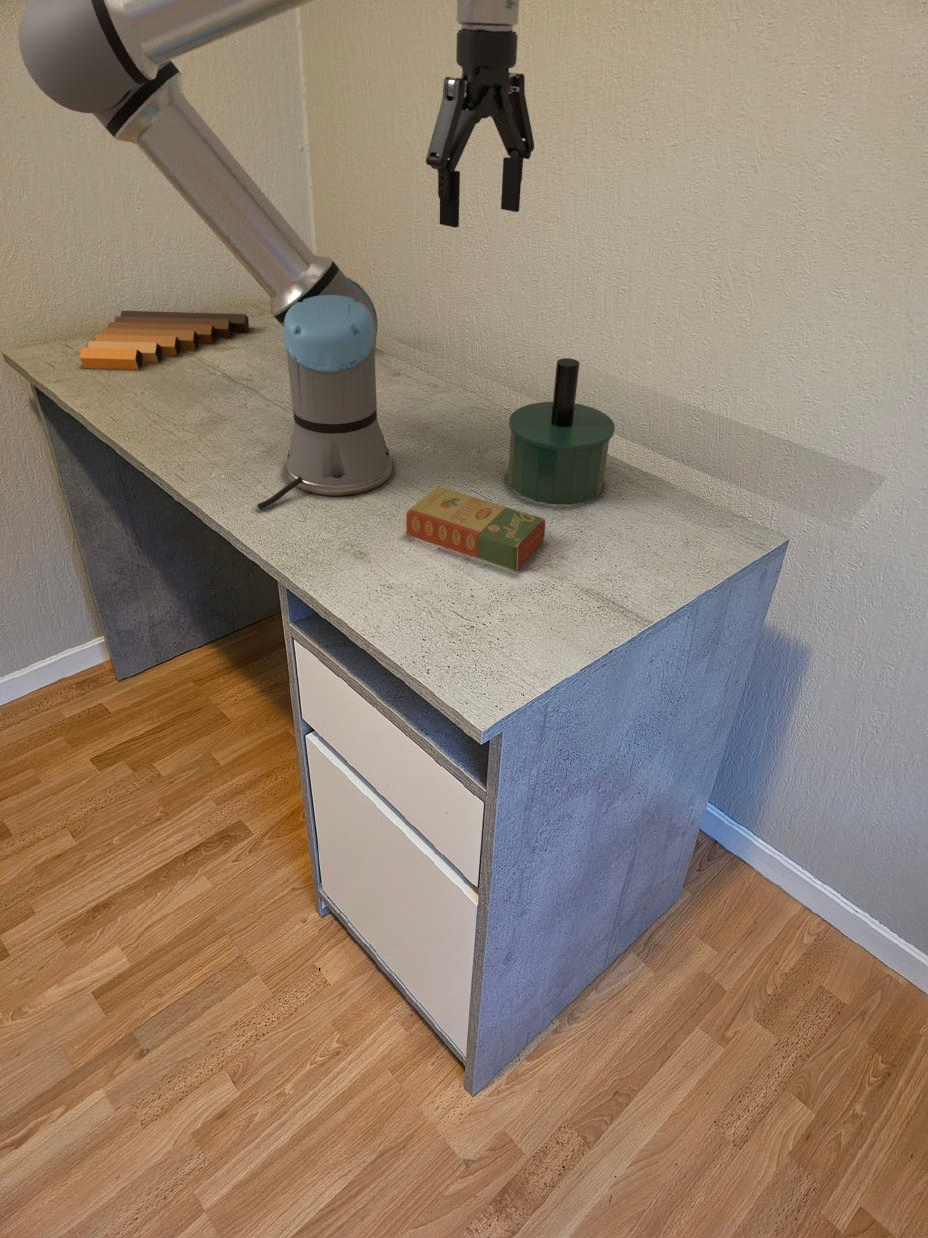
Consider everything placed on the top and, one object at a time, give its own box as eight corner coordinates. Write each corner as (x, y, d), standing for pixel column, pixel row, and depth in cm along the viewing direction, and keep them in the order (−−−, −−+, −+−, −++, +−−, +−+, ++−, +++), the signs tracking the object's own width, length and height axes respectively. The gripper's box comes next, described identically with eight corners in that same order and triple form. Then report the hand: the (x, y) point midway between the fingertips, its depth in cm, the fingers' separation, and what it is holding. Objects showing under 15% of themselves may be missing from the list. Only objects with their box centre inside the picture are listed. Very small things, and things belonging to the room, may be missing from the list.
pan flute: (249, 328, 168) (128, 324, 168) (247, 311, 166) (124, 307, 166) (220, 373, 149) (82, 369, 148) (217, 354, 147) (77, 350, 146)
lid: (576, 464, 106) (585, 392, 100) (487, 432, 113) (490, 363, 107) (633, 429, 115) (644, 361, 109) (547, 400, 122) (553, 335, 116)
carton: (438, 511, 112) (438, 483, 109) (544, 544, 106) (547, 516, 103) (405, 538, 106) (405, 509, 103) (516, 575, 100) (518, 545, 97)
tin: (568, 518, 111) (576, 458, 106) (488, 485, 118) (491, 427, 112) (619, 482, 120) (628, 425, 114) (542, 454, 126) (547, 398, 121)
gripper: (445, 30, 90) (443, 237, 103) (569, 28, 106) (553, 208, 119) (395, 27, 94) (399, 227, 107) (522, 25, 109) (512, 200, 122)
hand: (480, 217), depth 113 cm, fingers open, 13 cm apart
